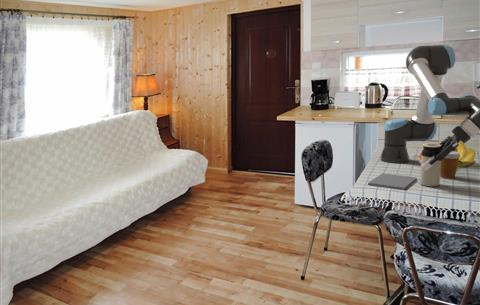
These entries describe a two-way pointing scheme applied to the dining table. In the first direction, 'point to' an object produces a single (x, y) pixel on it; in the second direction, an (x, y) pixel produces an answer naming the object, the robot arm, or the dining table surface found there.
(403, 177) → the placemat
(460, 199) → the dining table surface
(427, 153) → the travel mug
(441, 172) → the disposable coffee cup
